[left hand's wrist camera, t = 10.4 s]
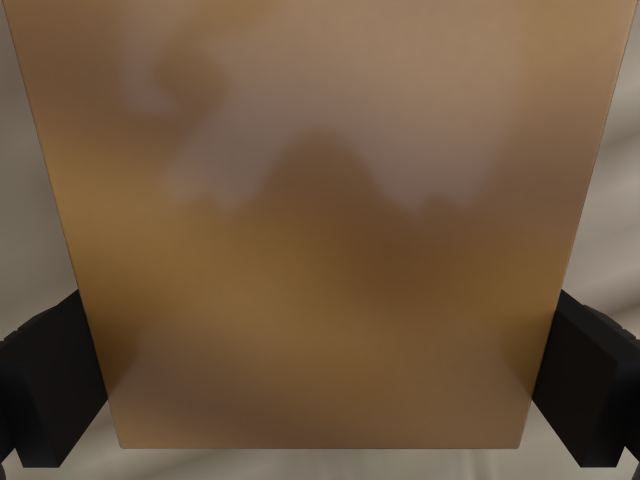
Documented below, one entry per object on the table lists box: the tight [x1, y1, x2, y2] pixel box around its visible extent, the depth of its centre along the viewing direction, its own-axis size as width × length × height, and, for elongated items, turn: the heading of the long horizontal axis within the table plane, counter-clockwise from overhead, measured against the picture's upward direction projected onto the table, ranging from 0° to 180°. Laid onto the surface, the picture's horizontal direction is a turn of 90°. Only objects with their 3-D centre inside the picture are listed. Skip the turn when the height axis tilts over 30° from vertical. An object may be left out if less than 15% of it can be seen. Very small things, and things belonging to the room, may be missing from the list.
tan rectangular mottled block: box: [2, 0, 638, 449], centre depth 12 cm, size 17×11×11 cm, turn 0°
